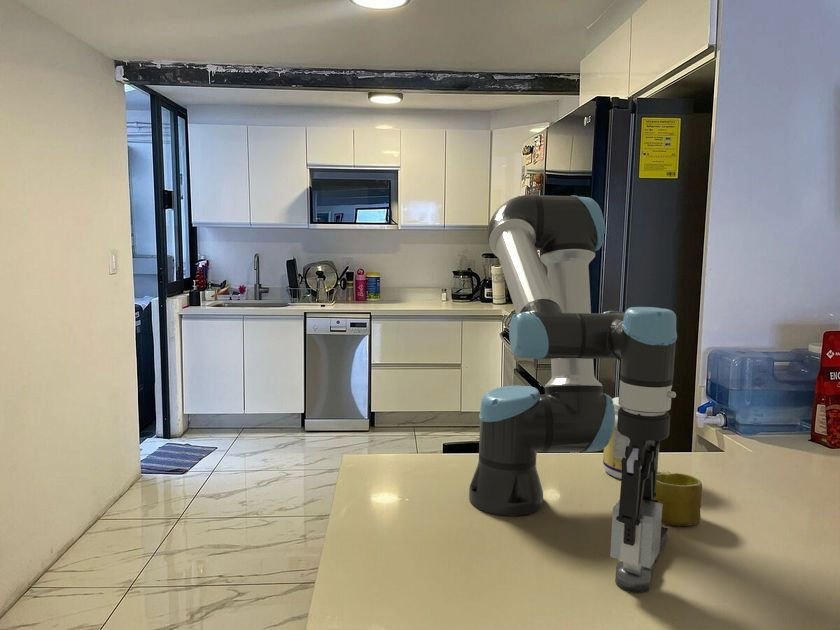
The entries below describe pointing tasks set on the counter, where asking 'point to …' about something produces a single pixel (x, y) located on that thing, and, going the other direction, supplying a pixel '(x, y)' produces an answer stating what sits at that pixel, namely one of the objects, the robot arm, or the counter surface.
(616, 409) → the supplement tub
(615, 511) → the grey block
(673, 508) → the mug
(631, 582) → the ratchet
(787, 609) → the counter surface
